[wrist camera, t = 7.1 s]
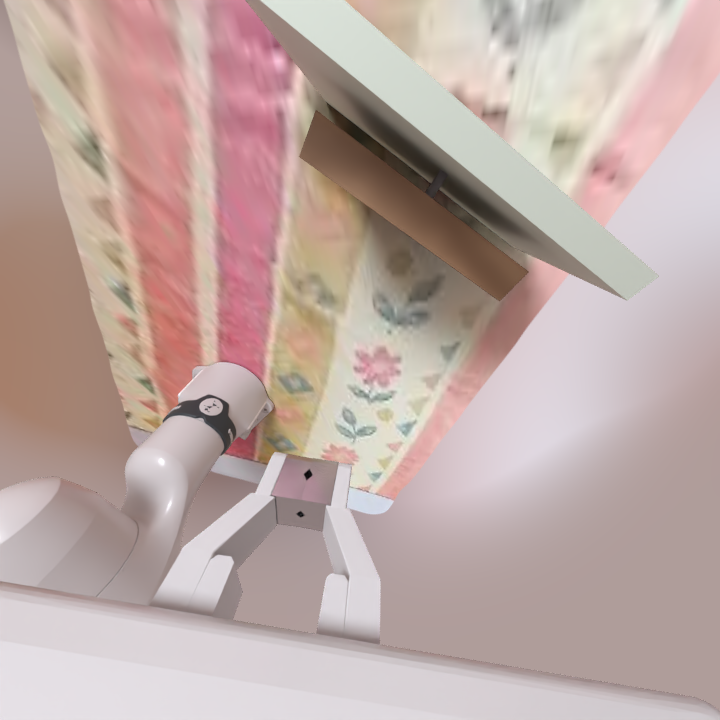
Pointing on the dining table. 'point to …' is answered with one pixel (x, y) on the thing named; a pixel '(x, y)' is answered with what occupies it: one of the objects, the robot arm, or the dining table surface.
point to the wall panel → (446, 141)
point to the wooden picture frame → (408, 207)
